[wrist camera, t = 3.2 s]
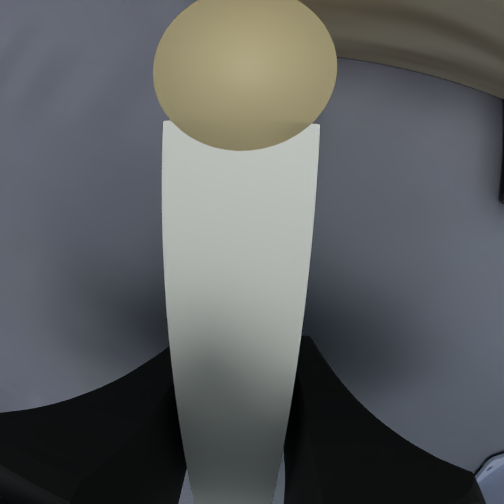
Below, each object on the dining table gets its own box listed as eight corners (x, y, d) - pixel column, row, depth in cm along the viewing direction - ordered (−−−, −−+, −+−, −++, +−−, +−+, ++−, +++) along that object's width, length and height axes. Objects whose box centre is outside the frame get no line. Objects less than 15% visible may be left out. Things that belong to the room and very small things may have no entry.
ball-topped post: (270, 466, 14) (261, 564, 8) (223, 462, 14) (203, 558, 8) (305, 82, 9) (335, -8, 3) (228, 79, 9) (161, -6, 3)
